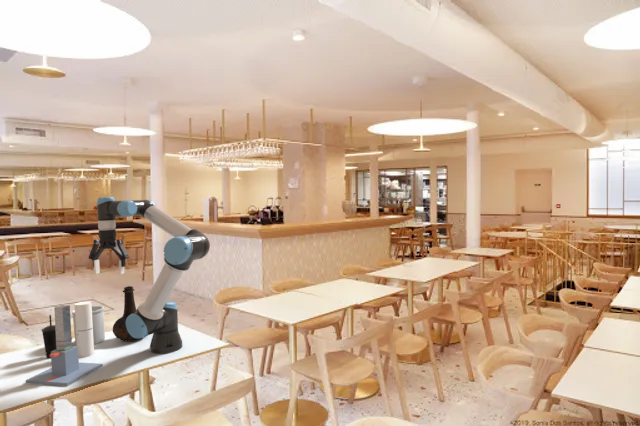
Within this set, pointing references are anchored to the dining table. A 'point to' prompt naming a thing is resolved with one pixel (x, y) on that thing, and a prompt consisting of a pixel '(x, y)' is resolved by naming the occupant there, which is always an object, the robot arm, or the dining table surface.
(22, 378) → the dining table surface
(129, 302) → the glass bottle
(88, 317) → the cylindrical container
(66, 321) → the column
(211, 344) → the dining table surface
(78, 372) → the stand
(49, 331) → the drinking cup
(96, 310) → the utensil holder
